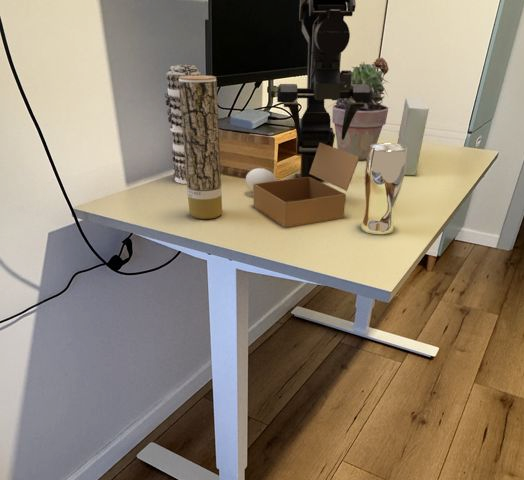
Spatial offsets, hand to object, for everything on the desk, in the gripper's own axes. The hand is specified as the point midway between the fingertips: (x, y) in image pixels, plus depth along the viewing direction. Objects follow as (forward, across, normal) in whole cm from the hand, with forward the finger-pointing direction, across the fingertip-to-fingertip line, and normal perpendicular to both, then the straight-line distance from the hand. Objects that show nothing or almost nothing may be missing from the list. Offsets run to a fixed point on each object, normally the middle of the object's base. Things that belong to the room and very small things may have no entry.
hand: (320, 139), depth 104 cm
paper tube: (+13, -24, -11) cm, 29 cm away
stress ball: (+13, -12, +4) cm, 18 cm away
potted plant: (+13, +14, +41) cm, 45 cm away
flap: (+4, +2, -5) cm, 7 cm away
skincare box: (+13, +27, +31) cm, 43 cm away
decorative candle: (+13, -30, +16) cm, 37 cm away
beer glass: (+13, +10, -19) cm, 25 cm away
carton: (+13, -5, -9) cm, 16 cm away
